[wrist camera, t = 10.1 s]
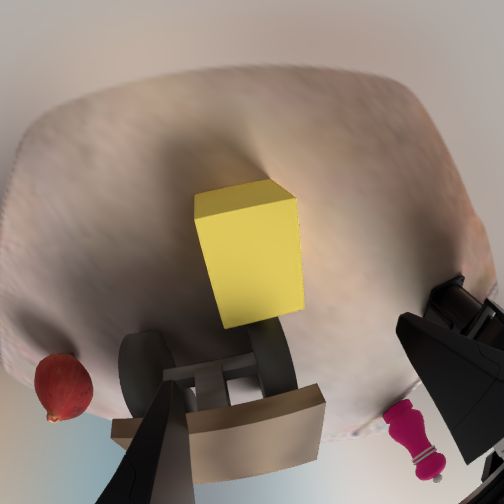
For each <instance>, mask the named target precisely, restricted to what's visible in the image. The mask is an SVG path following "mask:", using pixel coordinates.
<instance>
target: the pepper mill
mask: <svg viewBox="0 0 504 504" xmlns="http://www.w3.org/2000/svg"><path fill="white" fill-rule="evenodd" d="M412 407H413V405H412V403H411V402H410V400H409V399H405V400H402V401H400V402H398V403H397V404H395V405H394V406H392V407H391V408H390V409H389V410H387V411H386V412H385V414H384V415H383V419H384V420H385V422H386V423H387V424H390V427H389V434H390V435H391V437H392V438H393V439H394V440H395V441H397V442H398V443H400V444H402V445H403V446H405V448H407V449H408V451H409V452H410V454H411V456H412V458H413V459H412V462H413V463H414V465H416V466H417V467H416V471H415V472H416V476H417V477H418V478H419V479H420V480H430V479H432V478H433V482H435V483H438V482H440V481H441V480H442V475H440V473H441V472H442V471H443V469H444V468H445V465H446V459H445V457H444V455H443V454H441V453H437V452H436V450H437V449H435V446H434V445H433V446H432V445H431V444H430V442H429V441H428V439H427V437H426V433H425V427H424V420H423V416H422V414H421V412H420V411H418V410H414V409H412Z"/></svg>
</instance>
